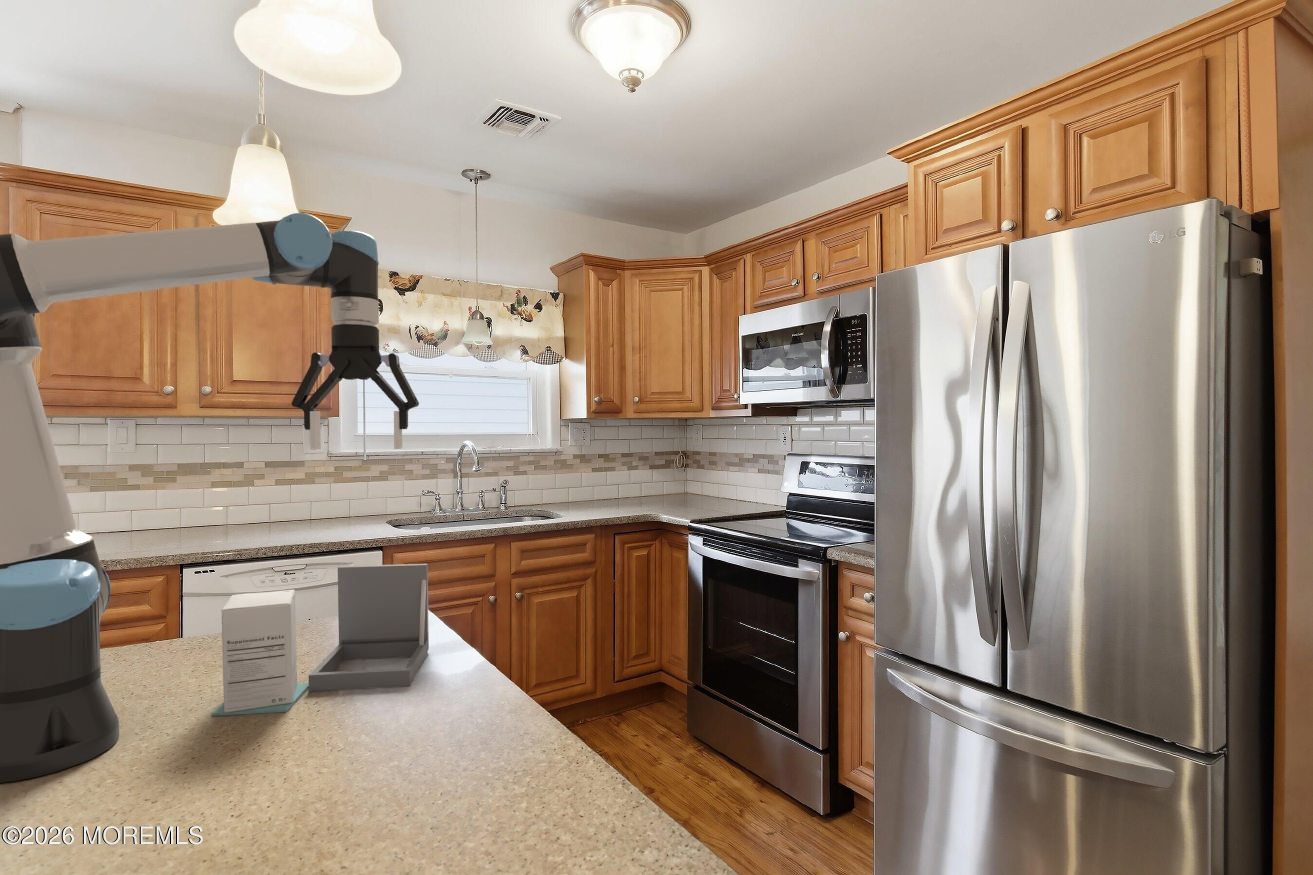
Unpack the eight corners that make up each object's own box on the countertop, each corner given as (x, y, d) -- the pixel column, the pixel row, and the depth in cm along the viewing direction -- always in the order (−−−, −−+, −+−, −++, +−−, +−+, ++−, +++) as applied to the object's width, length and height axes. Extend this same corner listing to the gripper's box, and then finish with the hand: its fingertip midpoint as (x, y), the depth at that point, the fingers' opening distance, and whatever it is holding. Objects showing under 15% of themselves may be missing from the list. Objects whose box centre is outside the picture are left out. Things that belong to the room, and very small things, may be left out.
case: (308, 691, 108) (306, 588, 108) (340, 656, 124) (339, 566, 124) (409, 685, 110) (408, 584, 110) (428, 652, 126) (427, 563, 126)
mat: (211, 715, 100) (211, 713, 100) (243, 688, 109) (243, 686, 109) (286, 711, 101) (286, 708, 101) (311, 685, 111) (311, 682, 111)
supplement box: (232, 691, 107) (230, 593, 107) (298, 682, 111) (296, 588, 111) (221, 714, 99) (219, 608, 99) (293, 703, 103) (291, 602, 102)
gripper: (268, 321, 115) (271, 450, 116) (426, 323, 119) (428, 449, 119) (286, 327, 123) (288, 448, 123) (434, 329, 126) (435, 447, 127)
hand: (357, 449), depth 121 cm, fingers open, 13 cm apart
